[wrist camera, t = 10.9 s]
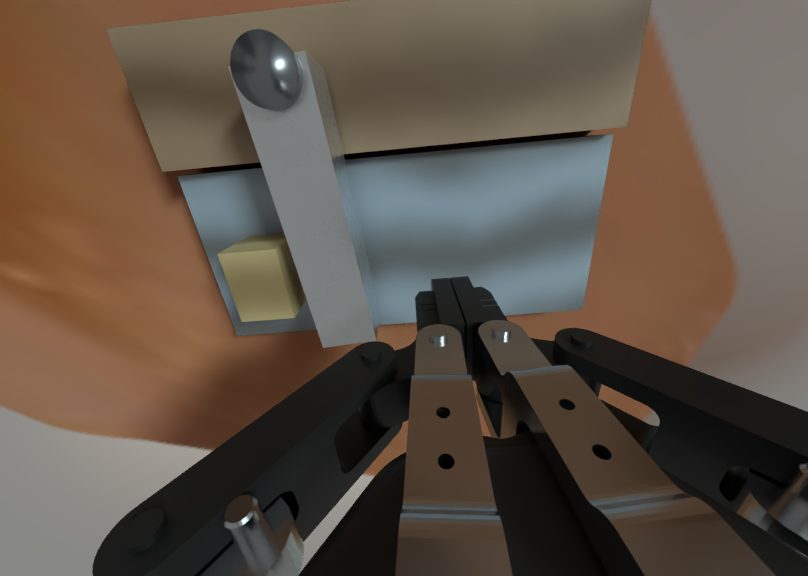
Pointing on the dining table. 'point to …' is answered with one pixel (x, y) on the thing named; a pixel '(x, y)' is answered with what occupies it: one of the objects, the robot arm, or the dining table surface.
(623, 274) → the dining table surface
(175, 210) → the dining table surface
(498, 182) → the latched flap box
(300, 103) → the lock bar
